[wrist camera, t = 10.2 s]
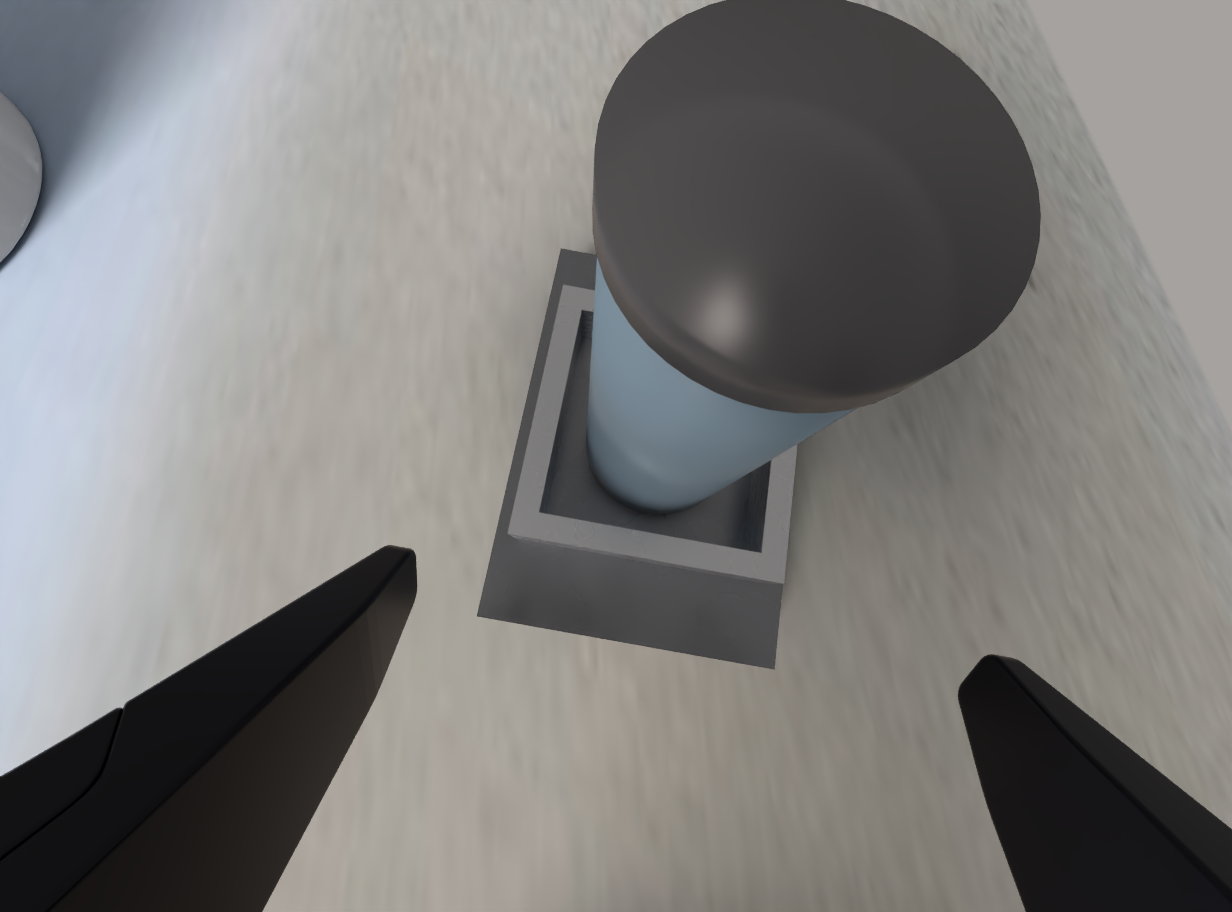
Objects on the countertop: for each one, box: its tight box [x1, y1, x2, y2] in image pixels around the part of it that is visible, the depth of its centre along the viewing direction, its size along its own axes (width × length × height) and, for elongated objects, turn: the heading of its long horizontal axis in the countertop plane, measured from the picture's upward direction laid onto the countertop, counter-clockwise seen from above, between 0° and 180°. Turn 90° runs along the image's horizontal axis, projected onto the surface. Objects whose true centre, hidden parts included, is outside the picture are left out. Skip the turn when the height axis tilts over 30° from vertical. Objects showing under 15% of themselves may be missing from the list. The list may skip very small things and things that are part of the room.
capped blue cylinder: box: [586, 0, 1041, 514], centre depth 12 cm, size 5×5×13 cm
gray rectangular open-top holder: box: [477, 249, 798, 669], centre depth 19 cm, size 14×10×5 cm
